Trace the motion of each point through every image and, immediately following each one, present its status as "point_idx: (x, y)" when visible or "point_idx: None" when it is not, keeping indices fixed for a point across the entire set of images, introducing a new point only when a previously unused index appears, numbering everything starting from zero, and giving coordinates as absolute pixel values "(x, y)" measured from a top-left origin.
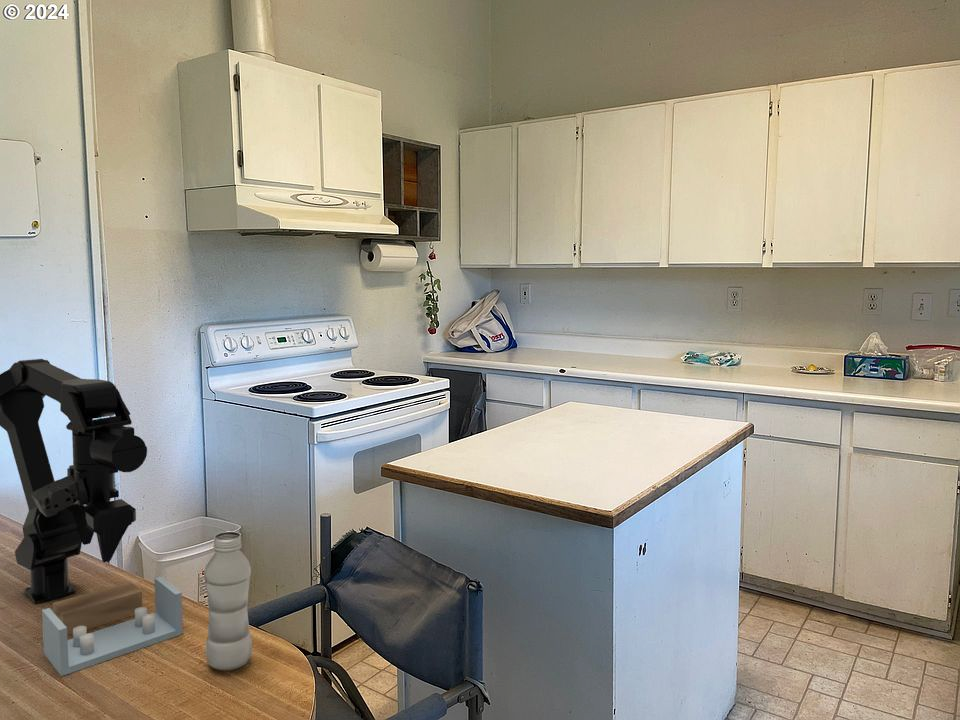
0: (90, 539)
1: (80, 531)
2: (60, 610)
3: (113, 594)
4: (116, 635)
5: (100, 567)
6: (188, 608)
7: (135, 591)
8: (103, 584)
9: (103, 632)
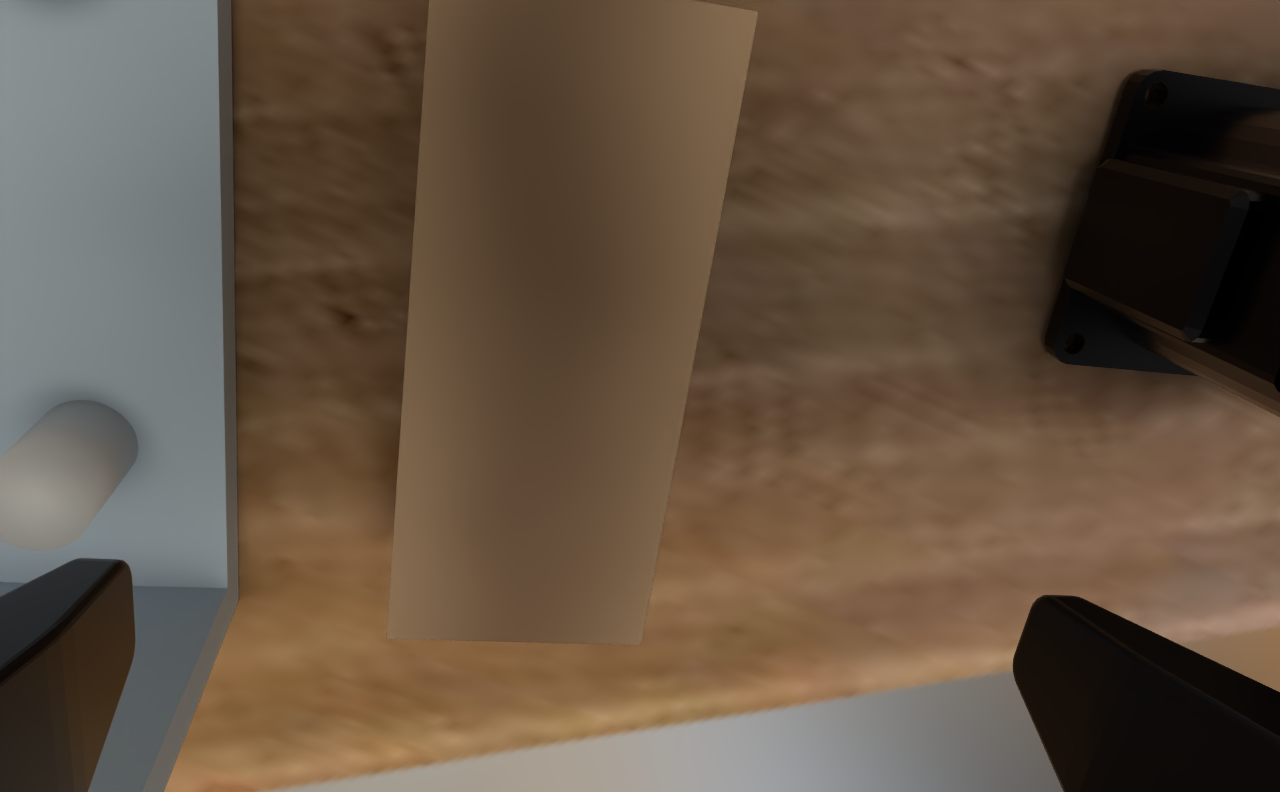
0: (1044, 716)
1: (1228, 722)
2: None
3: (505, 463)
4: (8, 227)
5: (1233, 604)
6: (225, 753)
7: (422, 604)
8: (1004, 525)
9: (149, 179)
